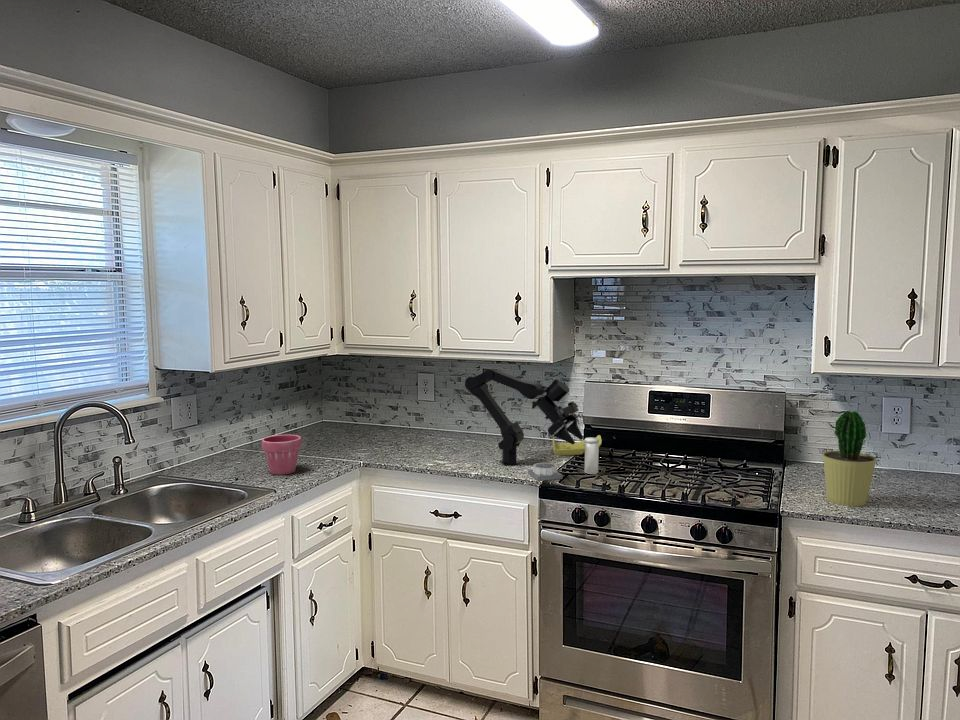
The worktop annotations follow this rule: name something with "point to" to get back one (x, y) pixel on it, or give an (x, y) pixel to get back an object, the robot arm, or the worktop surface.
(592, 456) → the white cylinder
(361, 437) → the worktop surface
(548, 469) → the duct collar
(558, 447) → the plastic component
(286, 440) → the plant pot
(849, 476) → the potted cactus
